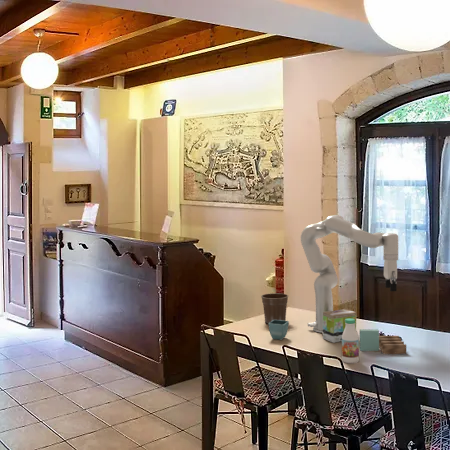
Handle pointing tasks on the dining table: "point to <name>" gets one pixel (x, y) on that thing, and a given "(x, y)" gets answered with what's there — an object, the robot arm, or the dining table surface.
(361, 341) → the mint green block
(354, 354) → the milk bottle
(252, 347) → the dining table surface
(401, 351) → the rack
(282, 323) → the flower pot
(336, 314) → the tea box
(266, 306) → the plant pot
